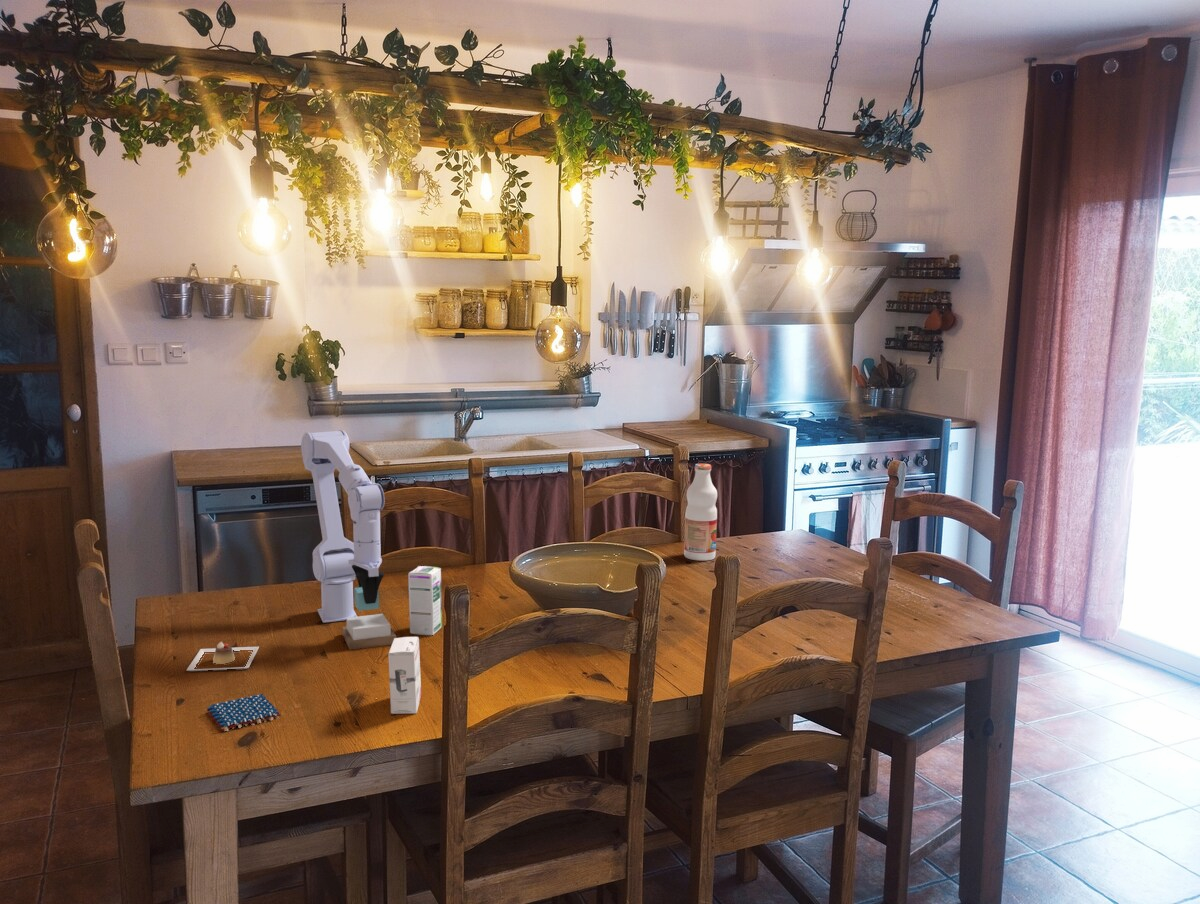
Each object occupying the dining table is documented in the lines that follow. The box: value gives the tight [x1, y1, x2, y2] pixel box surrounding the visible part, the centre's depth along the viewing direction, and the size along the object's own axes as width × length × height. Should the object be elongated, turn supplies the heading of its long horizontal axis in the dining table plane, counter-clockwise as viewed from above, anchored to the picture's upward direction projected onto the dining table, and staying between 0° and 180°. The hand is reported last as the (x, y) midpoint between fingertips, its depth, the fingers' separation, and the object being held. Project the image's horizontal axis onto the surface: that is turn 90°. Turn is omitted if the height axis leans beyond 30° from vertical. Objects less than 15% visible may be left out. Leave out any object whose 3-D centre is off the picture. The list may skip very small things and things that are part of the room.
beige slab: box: [342, 625, 397, 651], centre depth 212 cm, size 10×10×2 cm
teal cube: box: [353, 586, 380, 612], centre depth 210 cm, size 4×4×4 cm
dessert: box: [186, 641, 260, 672], centre depth 198 cm, size 12×12×5 cm
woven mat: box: [206, 693, 282, 732], centre depth 173 cm, size 10×11×2 cm
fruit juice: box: [683, 463, 718, 562], centre depth 283 cm, size 9×9×28 cm
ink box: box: [387, 636, 422, 715], centre depth 178 cm, size 9×5×12 cm, turn 5°
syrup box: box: [407, 565, 443, 636], centre depth 217 cm, size 6×6×14 cm
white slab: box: [345, 613, 391, 640], centre depth 211 cm, size 8×8×2 cm
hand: (368, 599), depth 211 cm, fingers closed on teal cube, 4 cm apart
